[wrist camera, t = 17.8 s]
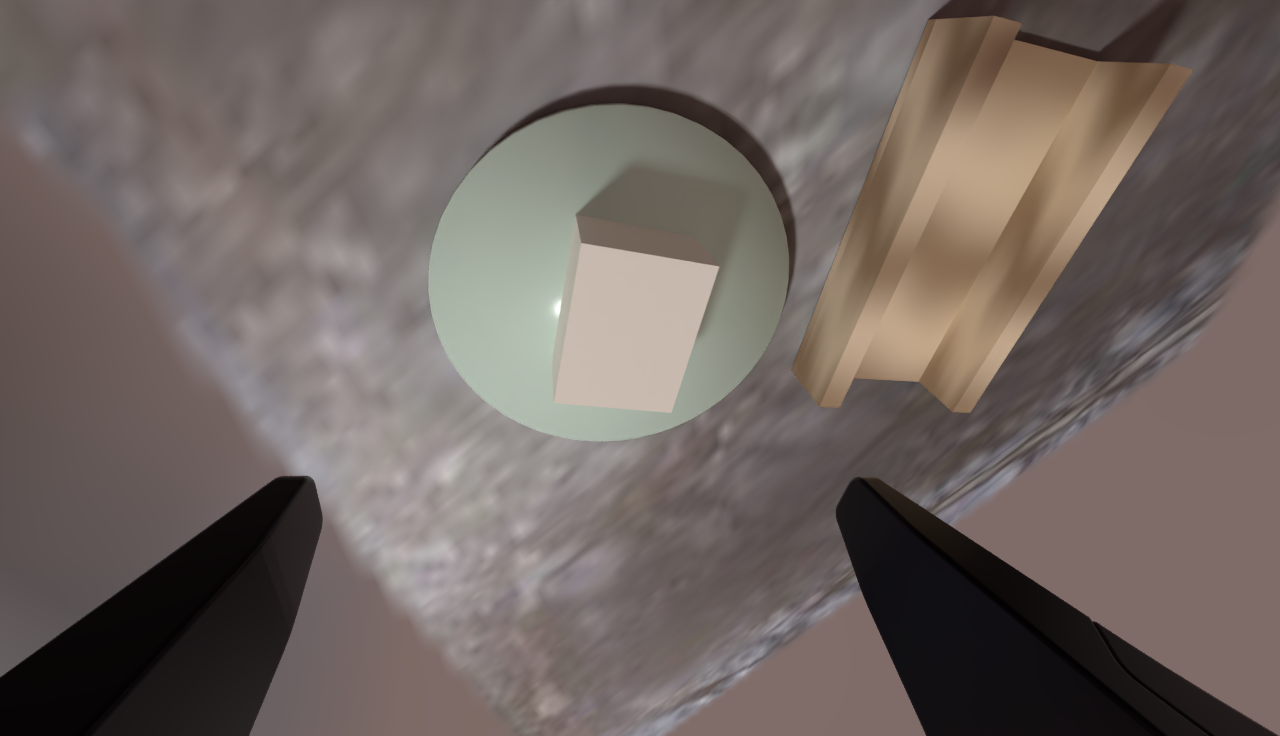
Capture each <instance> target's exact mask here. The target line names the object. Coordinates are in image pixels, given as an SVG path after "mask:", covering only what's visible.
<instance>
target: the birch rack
mask: <svg viewBox="0 0 1280 736" xmlns="http://www.w3.org/2000/svg"><path fill="white" fill-rule="evenodd" d="M1021 25H1022V23H1019V22H1016V21H1012V20H1008V19H1005V18H1001V17H997V16H982V17H965V18H948V19H932V20H928V22H927V25H926V27H925V30H924V33H923V35H922V38H921V40H920V43H919V45H918V48H917V50H916V53H915V56H914V58H913V61H912V63H911V66H910V68H909V71H908V73H907V76H906V79H905V81H904V84H903V86H902V89H901V91H900V94H899V96H898V99H897V101H896V104H895V107H894V109H893V112H892V114H891V117H890V119H889V122H888V124H887V127H886V130H885V132H884V135H883V137H882V140H881V142H880V145H879V147H878V150H877V153H876V155H875V158H874V160H873V163H872V165H871V168H870V170H869V173H868V175H867V178H866V181H865V183H864V186H863V188H862V191H861V193H860V196H859V198H858V201H857V204H856V206H855V209H854V211H853V214H852V216H851V219H850V221H849V224H848V227H847V229H846V232H845V234H844V237H843V239H842V242H841V244H840V247H839V249H838V252H837V255H836V257H835V260H834V262H833V265H832V267H831V270H830V272H829V275H828V278H827V280H826V283H825V285H824V288H823V290H822V293H821V295H820V298H819V300H818V303H817V306H816V308H815V311H814V313H813V316H812V318H811V321H810V323H809V326H808V329H807V331H806V334H805V336H804V339H803V341H802V344H801V346H800V349H799V352H798V354H797V357H796V359H795V362H794V364H793V367H792V369H791V371H792V372H793V373H794V375H795V376H796V377H797V378H798V380H799V381H800V382H801V384H802V385H803V386H804V388H805V389H806V390H807V391H808V393H809V394H810V395H811V397H812V398H813V399H814V400H815V402H816V403H817V404H818V406H819V407H837V408H840V406H841V404H842V402H843V400H844V397H845V395H846V393H847V391H848V389H849V387H850V385H851V383H852V381H853V378H862V379H880V380H898V381H917V382H920V383H921V384H922V385H923V386H924V387H925V388H926V389H927V390H929V391H930V392H931V393H932V394H933V395H934V396H935V397H936V398H938V399H939V400H940V401H941V402H942V403H943V404H944V405H945V406H947V407H948V408H949V409H950V410H951V411H952V412H968V413H970V412H971V410H972V409H973V407H974V406H975V404H976V403H977V401H978V400H979V398H980V397H981V395H982V394H983V392H984V390H985V389H986V387H987V386H988V384H989V383H990V381H991V380H992V378H993V377H994V375H995V374H996V372H997V371H998V369H999V367H1000V366H1001V364H1002V363H1003V361H1004V360H1005V358H1006V357H1007V355H1008V354H1009V352H1010V351H1011V349H1012V347H1013V346H1014V344H1015V343H1016V341H1017V340H1018V338H1019V337H1020V335H1021V334H1022V332H1023V331H1024V329H1025V327H1026V326H1027V324H1028V323H1029V321H1030V320H1031V318H1032V317H1033V315H1034V314H1035V312H1036V311H1037V309H1038V308H1039V306H1040V304H1041V303H1042V301H1043V300H1044V298H1045V297H1046V295H1047V294H1048V292H1049V291H1050V289H1051V288H1052V286H1053V284H1054V283H1055V281H1056V280H1057V278H1058V277H1059V275H1060V274H1061V272H1062V271H1063V269H1064V268H1065V266H1066V264H1067V263H1068V261H1069V260H1070V258H1071V257H1072V255H1073V254H1074V252H1075V251H1076V249H1077V248H1078V246H1079V244H1080V243H1081V241H1082V240H1083V238H1084V237H1085V235H1086V234H1087V232H1088V231H1089V229H1090V228H1091V226H1092V225H1093V223H1094V221H1095V220H1096V218H1097V217H1098V215H1099V214H1100V212H1101V211H1102V209H1103V208H1104V206H1105V205H1106V203H1107V201H1108V200H1109V198H1110V197H1111V195H1112V194H1113V192H1114V191H1115V189H1116V188H1117V186H1118V185H1119V183H1120V181H1121V180H1122V178H1123V177H1124V175H1125V174H1126V172H1127V171H1128V169H1129V168H1130V166H1131V165H1132V163H1133V161H1134V160H1135V158H1136V157H1137V155H1138V154H1139V152H1140V151H1141V149H1142V148H1143V146H1144V145H1145V143H1146V142H1147V140H1148V138H1149V137H1150V135H1151V134H1152V132H1153V131H1154V129H1155V128H1156V126H1157V125H1158V123H1159V122H1160V120H1161V118H1162V117H1163V115H1164V114H1165V112H1166V111H1167V109H1168V108H1169V106H1170V105H1171V103H1172V102H1173V100H1174V98H1175V97H1176V95H1177V94H1178V92H1179V91H1180V89H1181V88H1182V86H1183V85H1184V83H1185V82H1186V80H1187V79H1188V77H1189V75H1190V74H1191V72H1192V71H1193V70H1192V69H1188V68H1185V67H1181V66H1177V65H1174V64H1163V63H1132V62H1101V61H1094V60H1091V59H1087V58H1083V57H1079V56H1075V55H1071V54H1068V53H1064V52H1060V51H1056V50H1052V49H1048V48H1045V47H1041V46H1037V45H1033V44H1029V43H1026V42H1022V41H1018V40H1014V39H1015V37H1016V35H1017V33H1018V31H1019V29H1020V27H1021Z"/></svg>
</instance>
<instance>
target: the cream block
mask: <svg viewBox="0 0 1280 736" xmlns="http://www.w3.org/2000/svg"><path fill="white" fill-rule="evenodd" d="M718 269H719V265H718V264H717V263H716V262H715V260H714V259H713V258H712V257H711V255H710V254H709V253H708V252H707V250H706V249H705V248H704V247H703V245H702V244H701V243H700V242H699V240H698V239H697V238H696V237H695V236H690V235H684V234H679V233H673V232H668V231H662V230H657V229H652V228H646V227H641V226H635V225H630V224H625V223H619V222H614V221H608V220H603V219H597V218H592V217H587V216H581V215H576V214H575V220H574V226H573V232H572V239H571V245H570V251H569V257H568V263H567V269H566V276H565V282H564V288H563V294H562V300H561V306H560V313H559V319H558V325H557V331H556V337H555V343H554V350H553V356H552V375H553V400H554V403H558V404H570V405H582V406H594V407H606V408H618V409H630V410H642V411H654V412H666V413H672V410H673V406H674V403H675V400H676V397H677V394H678V391H679V388H680V385H681V382H682V379H683V376H684V373H685V370H686V367H687V364H688V361H689V358H690V355H691V352H692V349H693V346H694V343H695V339H696V336H697V333H698V330H699V327H700V324H701V321H702V318H703V315H704V312H705V309H706V306H707V303H708V300H709V297H710V294H711V291H712V288H713V285H714V282H715V279H716V276H717V272H718Z"/></svg>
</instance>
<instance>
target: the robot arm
mask: <svg viewBox="0 0 1280 736" xmlns="http://www.w3.org/2000/svg"><path fill="white" fill-rule="evenodd" d="M836 519H837V522H838V525H839V528H840V531H841V534H842V537H843V539H844V542H845V545H846V548H847V551H848V554H849V557H850V560H851V563H852V565H853V568H854V571H855V574H856V577H857V580H858V583H859V586H860V588H861V591H862V594H863V596H864V599H865V601H866V603H867V606H868V608H869V610H870V613H871V615H872V617H873V619H874V621H875V624H876V626H877V628H878V630H879V632H880V635H881V637H882V639H883V641H884V644H885V646H886V648H887V650H888V652H889V654H890V657H891V659H892V661H893V663H894V665H895V668H896V670H897V672H898V674H899V677H900V679H901V681H902V683H903V685H904V688H905V690H906V692H907V694H908V696H909V698H910V701H911V703H912V705H913V708H914V709H915V712H916V714H917V716H918V718H919V721H920V723H921V725H922V727H923V730H924V732H925V734H926V736H1278V735H1277V734H1275V733H1273V732H1272V731H1270V730H1268V729H1267V728H1265V727H1263V726H1262V725H1260V724H1258V723H1257V722H1255V721H1253V720H1252V719H1250V718H1249V717H1247V716H1245V715H1243V714H1242V713H1240V712H1239V711H1237V710H1235V709H1233V708H1232V707H1230V706H1229V705H1227V704H1225V703H1224V702H1222V701H1220V700H1219V699H1217V698H1215V697H1214V696H1212V695H1210V694H1209V693H1207V692H1206V691H1204V690H1202V689H1200V688H1199V687H1197V686H1196V685H1194V684H1192V683H1191V682H1189V681H1188V680H1186V679H1184V678H1183V677H1181V676H1179V675H1178V674H1176V673H1174V672H1173V671H1171V670H1170V669H1168V668H1166V667H1165V666H1163V665H1162V664H1160V663H1159V662H1157V661H1155V660H1154V659H1152V658H1151V657H1149V656H1148V655H1146V654H1145V653H1143V652H1141V651H1140V650H1138V649H1137V648H1135V647H1134V646H1132V645H1131V644H1129V643H1127V642H1126V641H1124V640H1123V639H1121V638H1120V637H1118V636H1117V635H1115V634H1114V633H1112V632H1111V631H1109V630H1107V629H1106V628H1105V627H1103V626H1101V625H1100V624H1099V623H1097V622H1095V621H1092V620H1091V619H1090V618H1089V617H1088V616H1086V615H1085V614H1083V613H1082V612H1080V611H1079V610H1077V609H1076V608H1074V607H1073V606H1071V605H1070V604H1068V603H1067V602H1065V601H1064V600H1062V599H1060V598H1059V597H1057V596H1056V595H1054V594H1053V593H1051V592H1050V591H1048V590H1047V589H1045V588H1044V587H1042V586H1041V585H1039V584H1038V583H1036V582H1035V581H1033V580H1032V579H1030V578H1028V577H1027V576H1025V575H1024V574H1022V573H1021V572H1019V571H1018V570H1016V569H1015V568H1013V567H1012V566H1010V565H1009V564H1007V563H1006V562H1004V561H1003V560H1001V559H999V558H998V557H997V556H995V555H994V554H992V553H991V552H989V551H987V550H986V549H984V548H983V547H981V546H980V545H978V544H977V543H975V542H974V541H972V540H971V539H969V538H968V537H966V536H965V535H963V534H962V533H960V532H959V531H957V530H956V529H954V528H953V527H951V526H950V525H948V524H947V523H945V522H944V521H942V520H941V519H939V518H937V517H936V516H934V515H933V514H931V513H930V512H928V511H927V510H925V509H924V508H922V507H921V506H919V505H918V504H916V503H915V502H913V501H912V500H910V499H909V498H907V497H906V496H904V495H903V494H901V493H900V492H898V491H897V490H895V489H893V488H892V487H890V486H889V485H887V484H886V483H884V482H883V481H881V480H880V479H878V478H876V477H855V478H853V479H852V480H851V481H850V482H849V484H848V486H847V488H846V490H845V492H844V494H843V495H842V497H841V499H840V501H839V503H838V505H837V507H836ZM322 521H323V517H322V511H321V506H320V502H319V498H318V494H317V490H316V485H315V482H314V480H313V479H312V478H311V477H309V476H281V477H278V478H275V479H274V480H272V481H271V482H269V483H268V484H267V485H265V486H264V487H262V488H261V489H260V490H258V491H257V492H255V493H254V494H253V495H251V496H250V497H249V498H247V499H246V500H244V501H243V502H242V503H240V504H239V505H238V506H236V507H235V508H233V509H232V510H231V511H229V512H228V513H226V514H225V515H224V516H222V517H221V518H220V519H218V520H217V521H215V522H214V523H213V524H211V525H210V526H209V527H207V528H206V529H205V530H203V531H202V532H200V533H199V534H197V535H196V536H195V537H193V538H192V539H190V540H189V541H188V542H186V543H185V544H184V545H182V546H181V547H179V548H178V549H177V550H175V551H174V552H173V553H171V554H170V555H168V556H167V557H166V558H164V559H163V560H161V561H160V562H159V563H157V564H156V565H154V566H153V567H152V568H150V569H149V570H148V571H147V572H145V573H143V574H142V575H141V576H139V577H138V578H137V579H135V580H134V581H132V582H131V583H130V584H129V585H127V586H126V587H124V588H123V589H121V590H120V591H119V592H117V593H116V594H114V595H113V596H112V597H110V598H109V599H107V600H106V601H105V602H103V603H102V604H101V605H99V606H98V607H97V608H95V609H94V610H92V611H91V612H89V613H88V614H87V615H85V616H84V617H83V618H81V619H80V620H79V621H77V622H76V623H74V624H73V625H72V626H70V627H69V628H67V629H66V630H65V631H63V632H62V633H60V634H59V635H58V636H56V637H55V638H53V639H52V640H51V641H49V642H48V643H47V644H45V645H44V646H42V647H41V648H40V649H39V650H37V651H36V652H34V653H33V654H31V655H30V656H29V657H27V658H26V659H24V660H23V661H22V662H20V663H19V664H18V665H16V666H15V667H14V668H12V669H11V670H9V671H8V672H6V673H5V674H4V675H2V676H1V677H0V736H249V734H250V732H251V729H252V727H253V725H254V722H255V720H256V718H257V715H258V713H259V710H260V708H261V706H262V703H263V701H264V698H265V696H266V694H267V691H268V689H269V686H270V684H271V682H272V679H273V677H274V674H275V672H276V669H277V667H278V664H279V662H280V660H281V657H282V655H283V653H284V650H285V647H286V644H287V642H288V640H289V637H290V634H291V631H292V628H293V625H294V622H295V619H296V615H297V612H298V609H299V605H300V602H301V598H302V595H303V591H304V588H305V584H306V581H307V578H308V574H309V570H310V567H311V564H312V560H313V557H314V553H315V550H316V546H317V543H318V540H319V536H320V533H321V529H322Z"/></svg>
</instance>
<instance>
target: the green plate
mask: <svg viewBox="0 0 1280 736" xmlns="http://www.w3.org/2000/svg"><path fill="white" fill-rule="evenodd" d="M575 214H576V215H581V216H587V217H592V218H597V219H603V220H608V221H614V222H619V223H625V224H630V225H635V226H641V227H646V228H652V229H657V230H662V231H668V232H673V233H679V234H684V235H690V236H695V237H696V238H697V239H698V240H699V242H700V243H701V244H702V245H703V247H704V248H705V249H706V250H707V252H708V253H709V254H710V255H711V257H712V258H713V259H714V260H715V262H716V263H717V264H718V265H719V269H718V272H717V276H716V279H715V282H714V285H713V288H712V291H711V294H710V297H709V300H708V303H707V306H706V309H705V312H704V315H703V318H702V321H701V324H700V327H699V330H698V333H697V336H696V339H695V343H694V346H693V349H692V352H691V355H690V358H689V361H688V364H687V367H686V370H685V373H684V376H683V379H682V382H681V385H680V388H679V391H678V394H677V397H676V400H675V403H674V406H673V410H672V413H666V412H654V411H642V410H630V409H618V408H606V407H594V406H582V405H570V404H558V403H554V400H553V375H552V356H553V350H554V343H555V337H556V331H557V325H558V319H559V313H560V306H561V300H562V294H563V288H564V282H565V276H566V269H567V263H568V257H569V251H570V245H571V239H572V232H573V226H574V220H575ZM788 281H789V252H788V244H787V236H786V232H785V229H784V225H783V221H782V217H781V214H780V212H779V209H778V207H777V205H776V203H775V200H774V198H773V196H772V194H771V192H770V190H769V189H768V187H767V185H766V184H765V182H764V181H763V179H762V177H761V176H760V174H759V173H758V172H757V171H756V170H755V168H754V167H753V166H752V165H751V164H750V163H749V161H748V160H747V159H746V158H745V157H744V156H743V155H742V154H741V153H740V152H739V151H738V150H736V149H735V148H734V147H733V146H732V145H731V144H729V143H728V142H727V141H726V140H725V139H723V138H722V137H720V136H718V135H717V134H715V133H714V132H712V131H710V130H709V129H707V128H706V127H704V126H702V125H700V124H698V123H696V122H694V121H692V120H689V119H687V118H685V117H682V116H680V115H678V114H675V113H673V112H669V111H666V110H662V109H658V108H654V107H650V106H646V105H637V104H627V103H602V104H589V105H584V106H579V107H574V108H568V109H564V110H561V111H558V112H555V113H553V114H550V115H547V116H544V117H541V118H538V119H536V120H535V121H533V122H531V123H529V124H527V125H525V126H523V127H521V128H519V129H518V130H516V131H514V132H512V133H511V134H510V135H508V136H507V137H506V138H504V139H503V140H502V141H500V142H499V143H498V144H496V145H495V146H494V147H492V148H491V149H490V150H489V151H488V152H487V153H486V154H485V155H484V156H483V157H482V158H481V159H480V160H479V161H478V162H477V163H476V164H475V165H474V166H473V167H472V168H471V170H470V171H469V172H468V174H467V175H466V177H465V178H464V179H463V181H462V182H461V183H460V185H459V186H458V187H457V189H456V191H455V193H454V194H453V196H452V198H451V200H450V202H449V204H448V206H447V208H446V210H445V212H444V214H443V215H442V217H441V220H440V223H439V226H438V229H437V232H436V235H435V238H434V241H433V246H432V251H431V257H430V263H429V286H428V291H429V298H430V306H431V313H432V317H433V320H434V324H435V327H436V330H437V334H438V336H439V339H440V341H441V343H442V345H443V347H444V350H445V352H446V354H447V356H448V357H449V359H450V360H451V362H452V364H453V365H454V367H455V368H456V370H457V372H458V373H459V374H460V375H461V377H462V378H463V379H464V380H465V381H466V382H467V384H468V385H469V386H470V387H471V388H472V389H473V390H474V391H475V392H476V393H477V394H478V395H479V396H480V397H481V398H482V399H484V400H485V401H486V402H487V403H488V404H490V405H491V406H492V407H494V408H495V409H497V410H498V411H499V412H501V413H502V414H504V415H506V416H507V417H509V418H511V419H513V420H515V421H517V422H518V423H520V424H522V425H525V426H527V427H530V428H532V429H535V430H537V431H540V432H543V433H547V434H550V435H554V436H557V437H563V438H568V439H574V440H583V441H618V440H626V439H634V438H639V437H643V436H647V435H651V434H655V433H658V432H661V431H664V430H667V429H670V428H673V427H675V426H677V425H679V424H682V423H684V422H686V421H688V420H690V419H692V418H694V417H696V416H697V415H699V414H701V413H703V412H704V411H706V410H708V409H709V408H710V407H712V406H713V405H715V404H716V403H717V402H719V401H720V400H721V399H723V398H724V397H725V396H726V395H727V394H728V393H730V392H731V391H732V390H733V389H734V388H735V387H736V386H737V385H738V384H739V383H740V382H741V381H742V380H743V379H744V378H745V377H746V376H747V374H748V373H749V372H750V371H751V370H752V368H753V367H754V366H755V364H756V363H757V362H758V360H759V359H760V357H761V356H762V355H763V353H764V351H765V349H766V348H767V346H768V344H769V342H770V341H771V339H772V337H773V334H774V332H775V330H776V327H777V325H778V323H779V320H780V317H781V314H782V310H783V307H784V303H785V300H786V294H787V287H788Z"/></svg>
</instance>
